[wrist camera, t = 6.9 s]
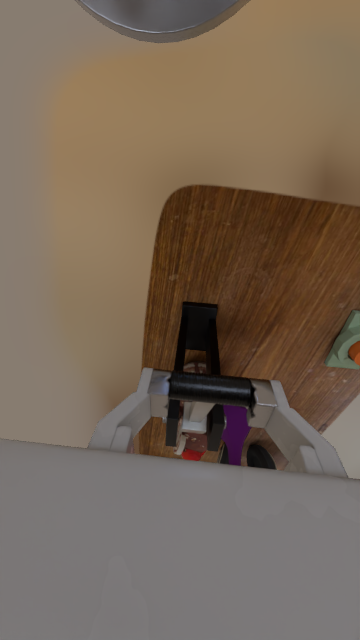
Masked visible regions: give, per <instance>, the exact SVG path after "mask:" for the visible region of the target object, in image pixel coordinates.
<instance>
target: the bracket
mask: <svg viewBox="0 0 360 640" xmlns="http://www.w3.org/2000/svg"><path fill="white" fill-rule="evenodd" d="M217 309H218V308H217V305H216V304H205V303H193V302H183V305H182V317H181V324H180V331H179V338H178V344H177V351H176V358H175V365H174V370H175V371H183V370H184V359H185V349H190V350H200V351H206V374H215V375H221V373H220V362H219V350H218V339H217V327H216V315H217ZM179 411H180V400H175V399H169V408H168V415H167V418H166V417H163V420H162V422H163V423H166V446H173V447H176V441H177V431H178V421H179ZM225 428H226V414H224V408H223V405H222V404H215V405H214V406H213V407H212V409H211V410H210V411H209V413H208V414H207V450H208V451H218V448H219V445H220V441H221V437H222V434H223V430H224V429H225Z"/></svg>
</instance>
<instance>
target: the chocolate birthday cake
mask: <svg viewBox="0 0 360 640" xmlns="http://www.w3.org/2000/svg"><path fill="white" fill-rule="evenodd" d="M183 371H185V372H195V373H205V374H206V362H201V361H194V362H189V363H187V364H185V365H184V370H183ZM184 402H192V401H184V400H180V411H179V421H178V431H177V441H176V447H173V451H174V454H178V455H180V454H181V453H182V457H183V458H184V460H193V461H199V460H200V458H201V456H202V455H203V454H204V453H205V452H206V450H207V431H206V432H205V433H204V434H198V433H189V432H182V419H183V408H184Z"/></svg>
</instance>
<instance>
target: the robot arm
mask: <svg viewBox="0 0 360 640" xmlns="http://www.w3.org/2000/svg"><path fill="white" fill-rule="evenodd" d="M171 373H172V371H170V370H162V369H153V368H145V367H144V369H143V371H142V374H141V377H140V381H139V384H138V388H137V391H136V392H133V393H132V394H131V395H129V396H128V397H127V398H126V399H125V400H124V401H122V402H121V403H120V404H119V405H118V406H117V407H115V408H114V409H113V410H112V411H111V412H109V413H108V414H107V415H106V416H105V417H104V418H102V419H101V420H100V421H99V422H98V424H97V426H96V429H95V431H94V434H93V436H92V438H91V441H90V443H89V446H88V448H79V447H69V446H61V445H52V444H44V443H35V442H26V441H18V440H9V439H0V640H360V479H353V478H348V476H347V473H346V471H345V469H344V467H343V465H342V463H341V461H340V458H339V456H338V454H337V452H336V450H335V448H334V447H333V446H332V445H331V444H330V443H329V442H328V441H326V439H325V438H324V437H322V436H321V435H320V434H319V433H318V432H317V431H316V430H315V429H314V428H313V427H312V426H311V425H310V424H309V423H308V422H307V421H306V420H304V419H303V418H302V417H301V416H300V415H299V414H298V413H297V412H296V411H295V410H294V409H293V408H290V407H289V404H288V402H287V399H286V396H285V393H284V391H283V388H282V385H281V382H280V381H276V380H266V379H254V378H249V380H250V383H251V389H252V395H251V402H250V405H249V406H248V407H245V408H246V409H247V413H246V417H247V423H248V426H250V427H257V428H265V430H266V432H267V433H268V434H269V436H270V437H271V438H272V440H273V441H274V442H275V444H276V445H277V447H278V448H279V449H280V451H281V452H282V453H283V455H284V456H285V457H286V459H287V460H288V461H289V463H288V464H287V466H286V467H285V469H284V470H283V471H282V470H273V469H264V468H255V467H247V466H238V465H229V464H220V463H211V462H202V461H193V460H184V459H176V458H167V457H158V456H149V455H140V454H135V453H134V444H133V438H134V437H135V435H136V434H137V433H138V432H139V431H140V430H141V428H142V427H143V426H144V425H145V424H146V422H147V421H148V420H149V419H150V418H151V416H153V417H166V418H167V415H168V408H169V388H170V379H171Z"/></svg>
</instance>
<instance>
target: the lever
mask: <svg viewBox="0 0 360 640" xmlns="http://www.w3.org/2000/svg"><path fill="white" fill-rule="evenodd" d="M251 395H252V389H251V383H250V380H249V378H245V377H235V376H225V375H215V374H205V373H195V372H185V371H175V370H173V371H172V373H171V379H170V388H169V399H175V400H184V401H192V402H184V408H183V419H182V432H189V433H198V434H204V433H205V432H206V431H207V414H208V413H209V411H210V410H211V409H212V407H213V406H214V405H215V404H222V405H232V406H241V407H248V406H249V405H250V402H251Z"/></svg>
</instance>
